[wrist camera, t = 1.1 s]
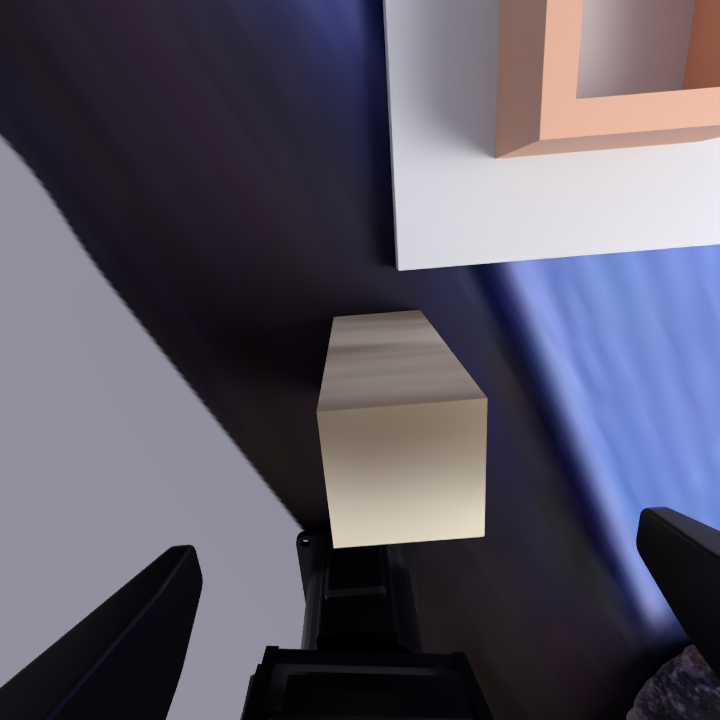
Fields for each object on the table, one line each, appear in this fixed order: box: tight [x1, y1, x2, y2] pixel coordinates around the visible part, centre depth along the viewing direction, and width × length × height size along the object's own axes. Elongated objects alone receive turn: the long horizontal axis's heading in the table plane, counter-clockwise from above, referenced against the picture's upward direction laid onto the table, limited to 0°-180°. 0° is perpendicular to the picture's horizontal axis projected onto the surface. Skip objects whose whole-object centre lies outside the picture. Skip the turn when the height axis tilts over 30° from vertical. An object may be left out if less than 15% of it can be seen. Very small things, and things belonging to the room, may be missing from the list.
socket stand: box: [383, 0, 720, 271], centre depth 13 cm, size 16×16×5 cm
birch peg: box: [317, 310, 487, 548], centre depth 15 cm, size 4×4×10 cm
